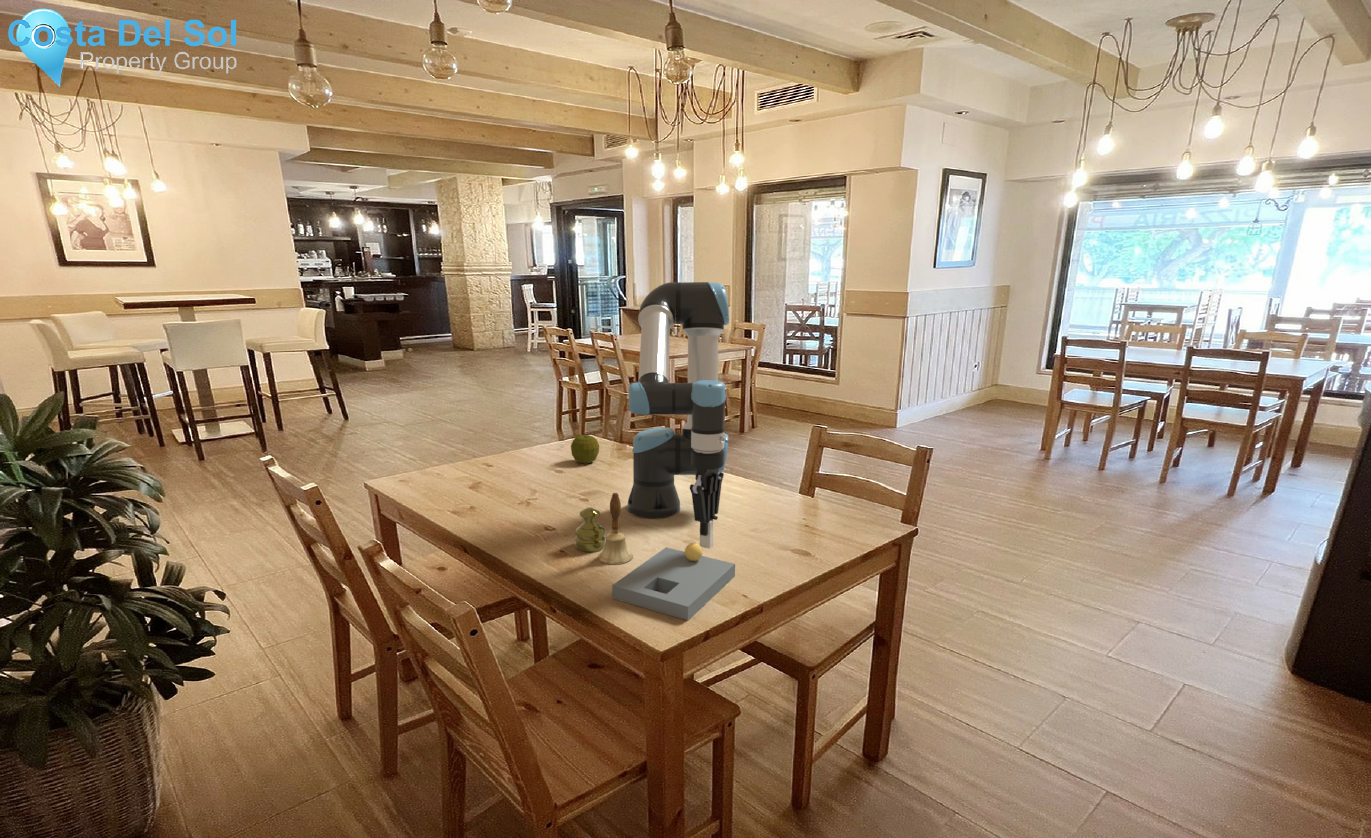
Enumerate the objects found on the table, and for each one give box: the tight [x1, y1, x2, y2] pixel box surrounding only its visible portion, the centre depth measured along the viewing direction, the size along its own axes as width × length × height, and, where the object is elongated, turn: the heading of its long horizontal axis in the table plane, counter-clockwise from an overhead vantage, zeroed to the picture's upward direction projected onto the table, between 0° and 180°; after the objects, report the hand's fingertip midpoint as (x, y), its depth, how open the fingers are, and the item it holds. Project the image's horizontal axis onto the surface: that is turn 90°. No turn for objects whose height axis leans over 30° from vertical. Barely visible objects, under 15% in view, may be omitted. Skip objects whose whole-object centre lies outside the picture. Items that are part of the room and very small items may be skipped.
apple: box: [570, 432, 600, 464], centre depth 231 cm, size 10×10×11 cm
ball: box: [684, 542, 703, 561], centre depth 146 cm, size 4×4×4 cm
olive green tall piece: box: [574, 506, 606, 553], centre depth 160 cm, size 7×7×10 cm
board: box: [611, 547, 736, 621], centre depth 140 cm, size 18×22×3 cm
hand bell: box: [598, 492, 634, 565], centre depth 153 cm, size 8×8×16 cm
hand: (706, 546), depth 151 cm, fingers closed
